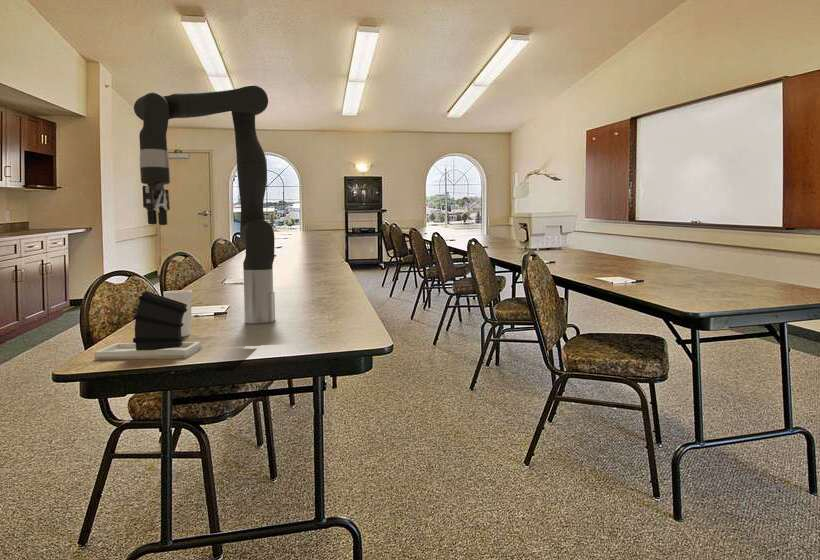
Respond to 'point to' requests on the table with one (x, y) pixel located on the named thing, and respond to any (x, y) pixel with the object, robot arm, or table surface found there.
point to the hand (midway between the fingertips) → (158, 224)
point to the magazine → (158, 322)
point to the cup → (186, 298)
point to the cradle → (146, 352)
